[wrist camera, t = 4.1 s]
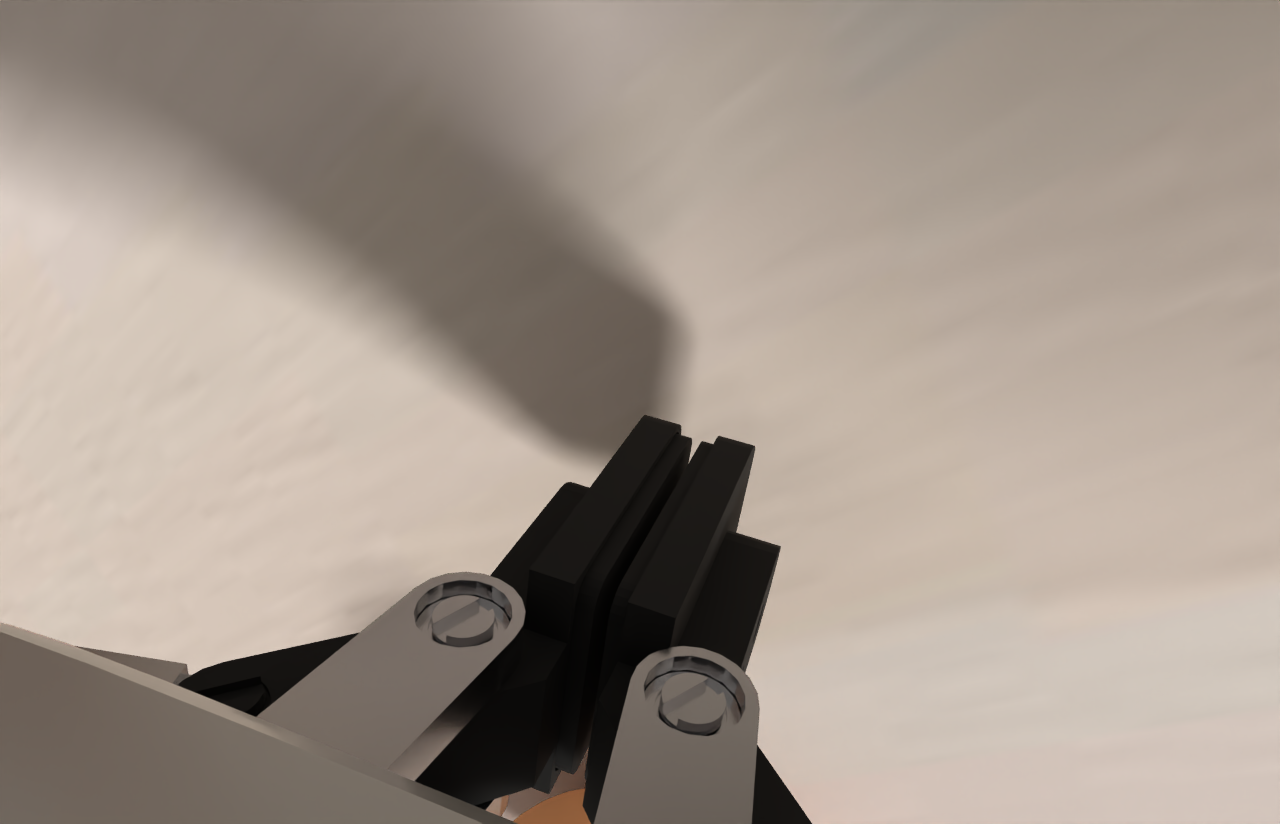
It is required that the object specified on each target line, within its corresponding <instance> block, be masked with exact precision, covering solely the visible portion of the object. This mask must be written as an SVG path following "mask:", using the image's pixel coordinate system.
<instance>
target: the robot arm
mask: <svg viewBox="0 0 1280 824" xmlns="http://www.w3.org/2000/svg"><path fill="white" fill-rule="evenodd" d="M691 446H692V438H689V437H686V436H682V435H681V425H679V424H675V423H672V422H668V421H665V420H661V419H658V418H654V417H650V416H647V415H644V416H643V417H642V418H641V420H640V421H639V422H638V424H637V425H636V426H635V428H634V429H633V430H632V432H631V433H630V435H629V436H628V437H627V439H626V440H625V441H624V443H623V444H622V445H621V447H620V448H619V449H618V451H617V452H616V453H615V455H614V456H613V457H612V459H611V460H610V461H609V463H608V464H607V465H606V467H605V468H604V469H603V471H602V472H601V473H600V475H599V476H598V477H597V479H596V480H595V482H594V483H593V484H592V486H591V487H590V488H589V487H585V486H582V485H579V484H576V483H572V482H567V483H565V484H564V485H563V486H562V487H561V488H560V489H559V491H558V492H557V493H556V494H555V496H554V497H553V498H552V499H551V501H550V502H549V503H548V504H547V506H546V507H545V508H544V509H543V511H542V512H541V513H540V514H539V516H538V517H537V518H536V519H535V521H534V522H533V523H532V524H531V526H530V527H529V528H528V529H527V531H526V532H525V533H524V534H523V535H522V537H521V538H520V539H519V540H518V542H517V543H516V544H515V545H514V547H513V548H512V549H511V550H510V552H509V553H508V554H507V555H506V557H505V558H504V559H503V560H502V562H501V563H500V564H499V565H498V567H497V568H496V569H495V570H494V572H493V573H492V574H491V575H490V576H489V575H486V574H481V573H472V572H458V573H448V574H444V575H441V576H438V577H434V578H431V579H429V580H427V581H426V582H424V583H422V584H421V585H419V586H417V587H416V588H414V589H413V590H412V591H411V592H409V593H408V594H407V595H406V596H404V597H403V598H402V599H401V600H399V601H398V602H397V603H396V604H395V605H393V606H392V607H391V608H390V609H388V610H387V611H386V612H385V613H383V614H382V615H381V616H380V617H379V618H377V619H376V620H375V621H374V622H372V623H371V624H370V625H369V626H367V627H366V628H365V629H364V630H363V631H361V632H360V633H356V634H351V635H346V636H342V637H337V638H333V639H328V640H323V641H319V642H314V643H310V644H305V645H300V646H296V647H291V648H287V649H282V650H277V651H273V652H268V653H263V654H259V655H254V656H250V657H245V658H240V659H236V660H231V661H227V662H223V663H220V664H217V665H214V666H210V667H207V668H204V669H202V670H200V671H198V672H197V673H195V674H193V675H189V674H188V668H187V664H183V663H177V662H171V661H165V660H159V659H152V658H146V657H140V656H134V655H128V654H121V653H115V652H109V651H103V650H96V649H90V648H84V647H78V646H73V645H70V644H67V643H64V642H61V641H58V640H55V639H52V638H49V637H46V636H43V635H40V634H37V633H34V632H31V631H28V630H25V629H22V628H18V627H15V626H12V625H9V624H4V623H0V824H518V823H515V822H513V821H510V820H508V819H505V818H503V817H501V816H502V814H503V812H504V811H505V809H506V807H507V804H508V798H509V794H512V793H515V792H518V791H522V790H525V789H528V788H531V787H532V788H534V789H537V790H539V791H542V792H544V793H547V794H549V793H550V791H551V789H552V787H553V785H554V783H555V781H556V780H557V778H558V776H559V774H560V772H561V770H563V771H565V772H568V773H571V774H574V773H575V772H576V771H577V769H578V767H579V765H580V763H581V761H582V759H583V757H584V755H585V753H586V751H587V749H588V747H589V751H588V757H587V764H586V771H585V779H586V786H585V792H584V799H583V805H582V806H583V808H584V810H585V812H586V814H587V816H588V819H589V821H590V823H591V824H812V823H811V821H810V820H809V819H808V817H807V816H806V814H805V813H804V811H803V810H802V808H801V807H800V806H799V804H798V803H797V801H796V800H795V798H794V797H793V796H792V794H791V793H790V791H789V790H788V788H787V787H786V786H785V784H784V783H783V781H782V780H781V778H780V777H779V775H778V774H777V773H776V771H775V770H774V768H773V767H772V765H771V764H770V763H769V761H768V760H767V758H766V757H765V755H764V754H763V753H762V751H761V750H760V748H759V747H758V745H757V739H758V725H759V711H760V708H759V700H758V693H757V691H756V689H755V687H754V685H753V683H752V681H751V680H750V678H749V677H748V676H747V675H746V674H745V672H746V668H747V665H748V662H749V659H750V656H751V653H752V649H753V646H754V643H755V640H756V636H757V633H758V630H759V626H760V623H761V619H762V616H763V612H764V609H765V605H766V602H767V598H768V594H769V591H770V587H771V583H772V579H773V576H774V572H775V568H776V564H777V560H778V557H779V552H780V548H781V546H778V545H775V544H771V543H768V542H765V541H762V540H758V539H755V538H752V537H748V536H745V535H742V534H739V533H736V531H737V526H738V522H739V518H740V514H741V509H742V505H743V501H744V496H745V492H746V488H747V483H748V479H749V475H750V470H751V466H752V462H753V457H754V452H755V446H753V445H750V444H746V443H743V442H739V441H736V440H732V439H729V438H725V437H721V436H718V437H717V439H716V441H715V442H714V444H710V443H707V442H703V441H702V442H701V443H700V445H699V447H698V448H697V450H696V452H695V453H694V455H693V457H692V459H691V460H690V462H689V457H690V452H691ZM688 462H689V464H688Z"/></svg>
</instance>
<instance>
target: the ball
mask: <svg viewBox="0 0 1280 824" xmlns="http://www.w3.org/2000/svg"><path fill="white" fill-rule="evenodd" d="M584 792H585V788H583V789H578V790H573V791H568V792H565V793H562V794H560V795H557V796H554V797H552V798H549V799H547V800H544V801H542V802H541V803H539V804H537V805H536V806H534V807H532V808H531V809H529V810H528V811H526V812H524V813H523V814H521V815H520V816H519V817H518V818H516V819H515V820H514V821H513V822H515V823H518V824H591V823H590V821H589V819H588V816H587V814H586V812H585V810H584V808H583V806H582V805H583V799H584Z"/></svg>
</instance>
